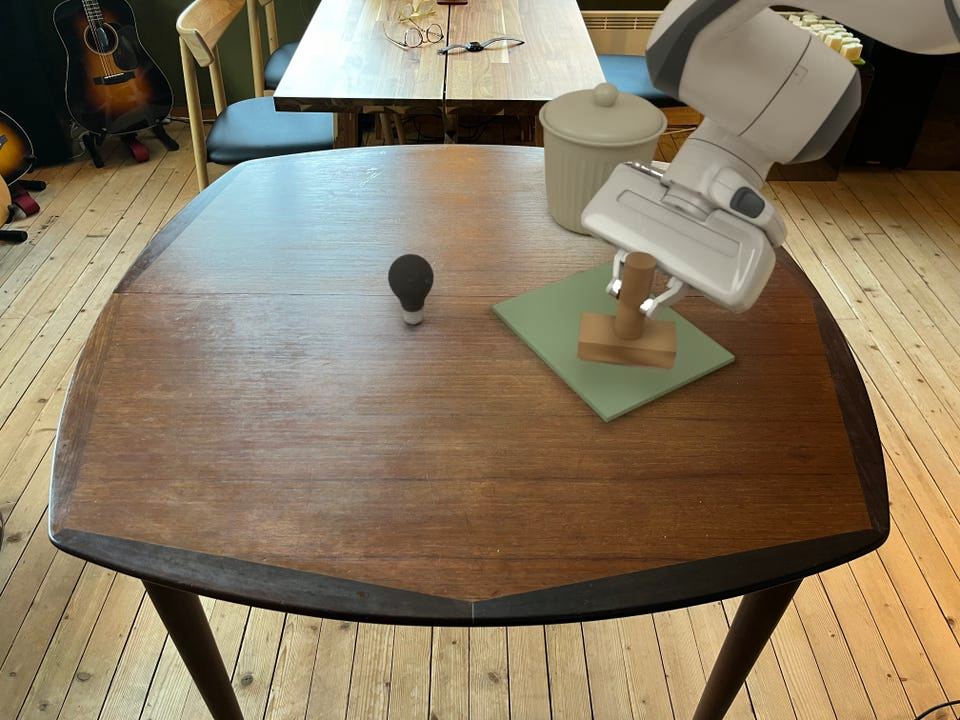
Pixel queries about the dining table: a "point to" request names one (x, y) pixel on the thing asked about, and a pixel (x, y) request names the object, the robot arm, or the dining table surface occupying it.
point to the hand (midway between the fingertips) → (629, 306)
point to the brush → (629, 325)
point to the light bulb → (411, 284)
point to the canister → (593, 144)
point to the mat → (604, 387)
